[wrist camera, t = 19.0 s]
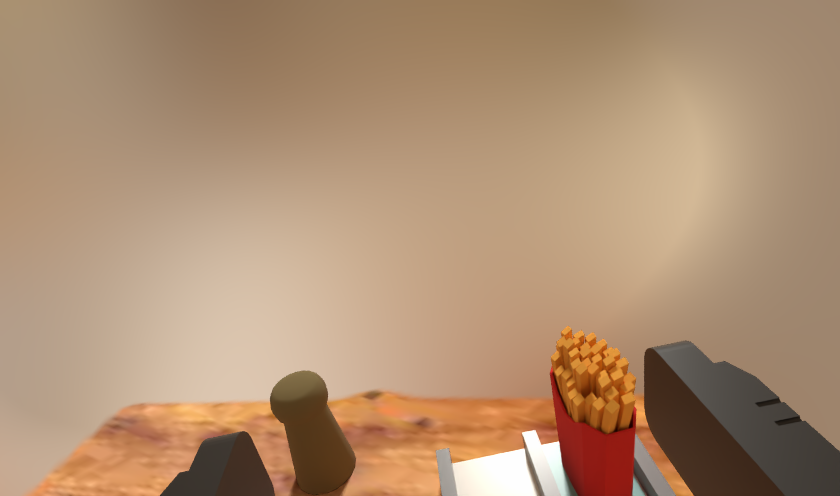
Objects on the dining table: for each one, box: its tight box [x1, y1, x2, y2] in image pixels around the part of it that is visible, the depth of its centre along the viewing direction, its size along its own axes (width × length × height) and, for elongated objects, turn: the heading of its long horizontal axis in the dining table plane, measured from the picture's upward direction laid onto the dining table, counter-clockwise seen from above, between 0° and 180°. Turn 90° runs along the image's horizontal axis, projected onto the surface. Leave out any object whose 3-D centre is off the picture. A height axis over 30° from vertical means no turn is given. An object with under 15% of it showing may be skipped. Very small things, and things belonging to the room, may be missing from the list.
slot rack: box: [436, 430, 676, 496], centre depth 39 cm, size 17×10×3 cm, turn 94°
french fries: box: [550, 326, 636, 496], centre depth 36 cm, size 9×4×13 cm, turn 8°
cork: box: [270, 371, 356, 495], centre depth 45 cm, size 6×6×11 cm
